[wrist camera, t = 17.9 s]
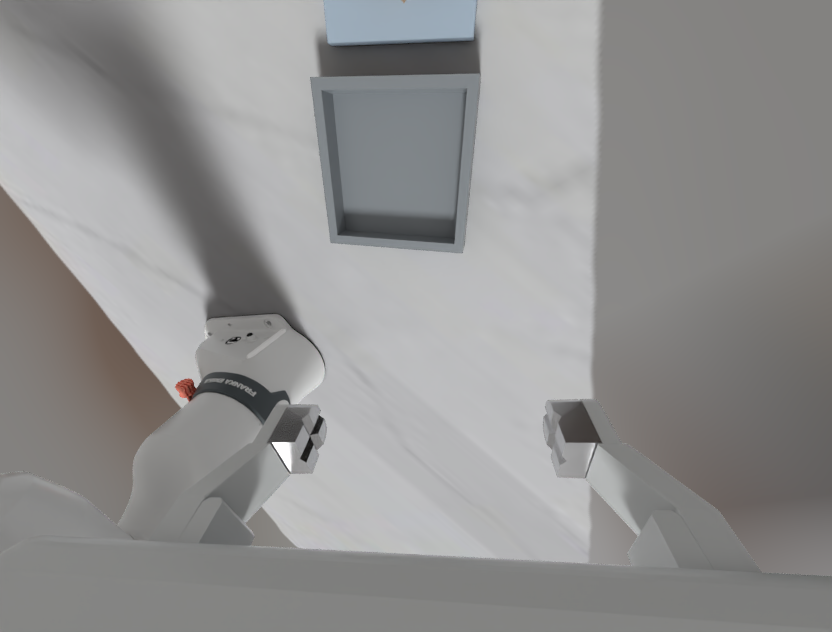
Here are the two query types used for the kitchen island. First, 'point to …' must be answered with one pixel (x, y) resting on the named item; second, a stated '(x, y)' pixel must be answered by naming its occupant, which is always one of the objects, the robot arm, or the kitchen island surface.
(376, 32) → the light blue flat slab
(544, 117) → the kitchen island surface
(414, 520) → the kitchen island surface
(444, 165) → the parts bin
